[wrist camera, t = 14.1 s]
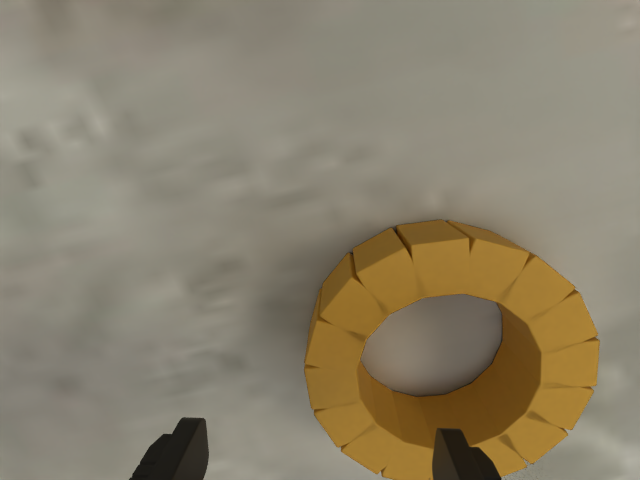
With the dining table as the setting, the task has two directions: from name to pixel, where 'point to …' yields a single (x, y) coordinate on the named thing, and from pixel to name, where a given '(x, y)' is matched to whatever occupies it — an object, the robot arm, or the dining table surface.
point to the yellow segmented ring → (484, 392)
